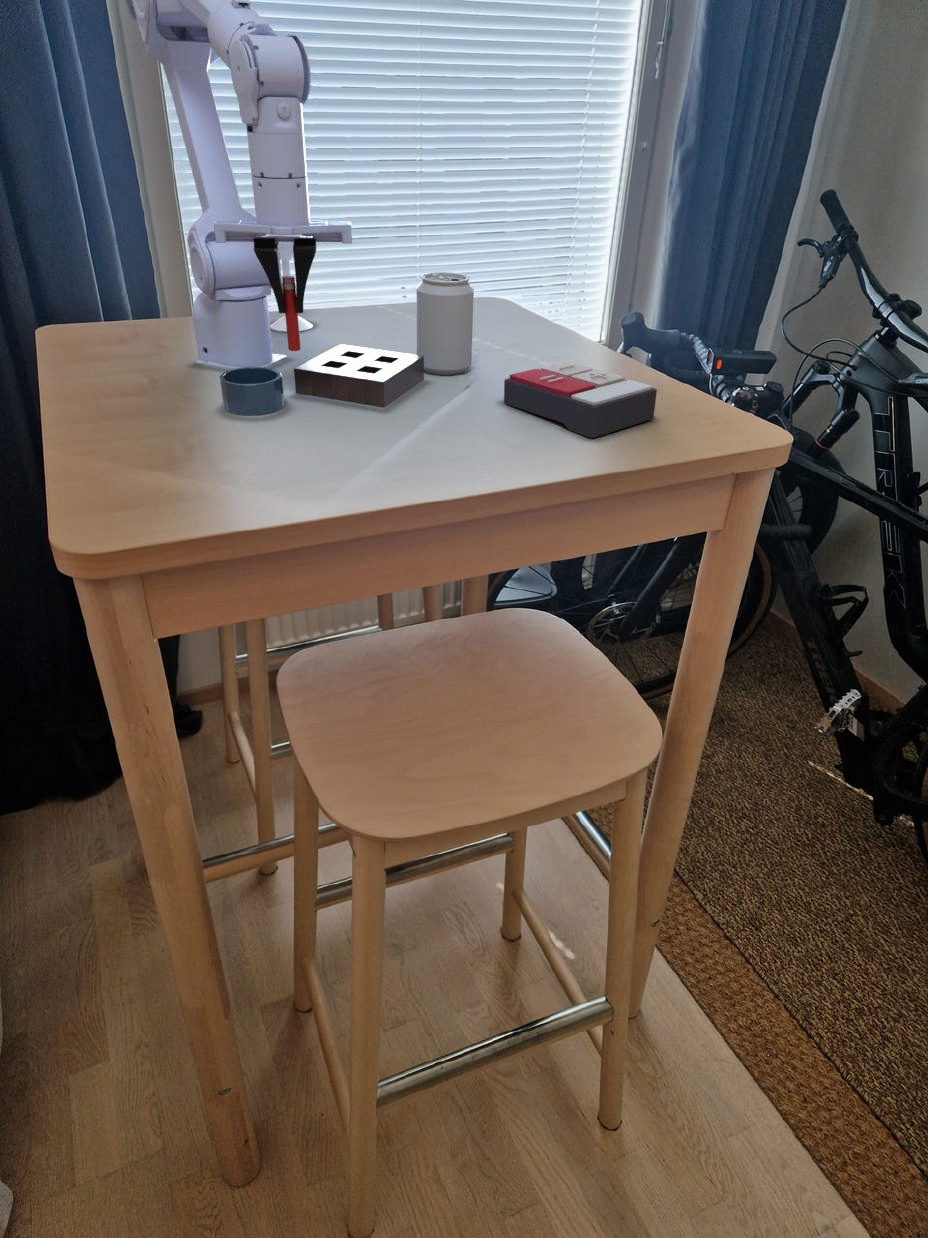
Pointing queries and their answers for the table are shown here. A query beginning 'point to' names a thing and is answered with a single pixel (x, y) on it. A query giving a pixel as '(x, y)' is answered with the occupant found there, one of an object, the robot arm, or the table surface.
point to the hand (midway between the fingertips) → (291, 311)
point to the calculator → (581, 398)
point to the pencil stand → (359, 375)
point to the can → (445, 322)
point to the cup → (252, 391)
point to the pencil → (291, 313)
